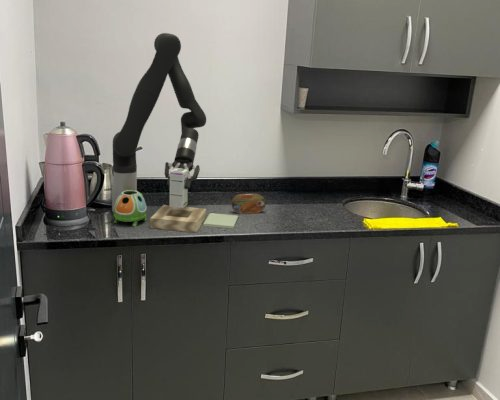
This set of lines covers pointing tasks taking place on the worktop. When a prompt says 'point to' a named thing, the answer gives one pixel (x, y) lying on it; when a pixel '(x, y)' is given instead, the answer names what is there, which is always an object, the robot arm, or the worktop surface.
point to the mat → (221, 220)
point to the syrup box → (178, 188)
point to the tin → (248, 203)
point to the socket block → (178, 218)
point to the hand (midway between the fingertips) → (177, 187)
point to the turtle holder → (130, 207)
